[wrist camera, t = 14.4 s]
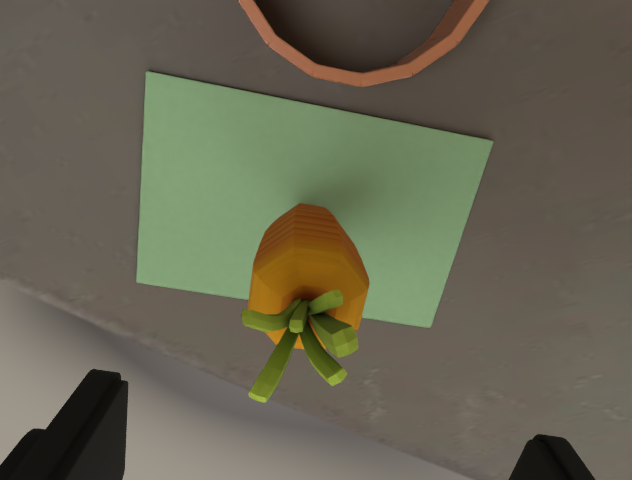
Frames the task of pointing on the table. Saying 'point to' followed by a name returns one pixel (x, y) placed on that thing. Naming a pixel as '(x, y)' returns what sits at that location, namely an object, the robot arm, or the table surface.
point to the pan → (439, 43)
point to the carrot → (306, 294)
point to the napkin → (298, 191)
